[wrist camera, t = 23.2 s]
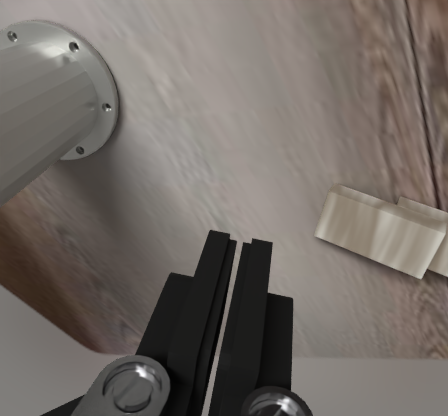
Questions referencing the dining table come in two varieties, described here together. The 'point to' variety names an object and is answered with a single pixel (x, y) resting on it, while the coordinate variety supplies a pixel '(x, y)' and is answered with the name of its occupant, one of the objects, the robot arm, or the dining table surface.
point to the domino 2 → (444, 257)
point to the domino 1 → (380, 230)
